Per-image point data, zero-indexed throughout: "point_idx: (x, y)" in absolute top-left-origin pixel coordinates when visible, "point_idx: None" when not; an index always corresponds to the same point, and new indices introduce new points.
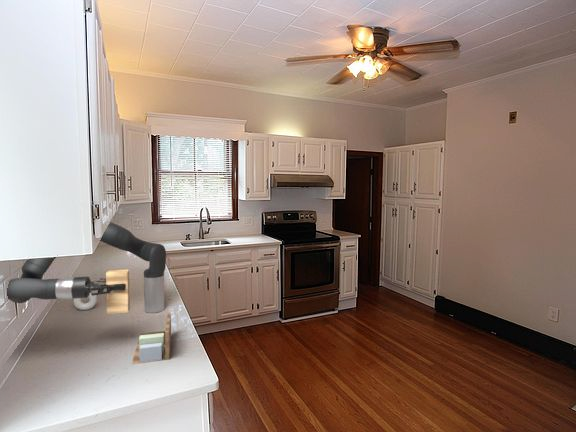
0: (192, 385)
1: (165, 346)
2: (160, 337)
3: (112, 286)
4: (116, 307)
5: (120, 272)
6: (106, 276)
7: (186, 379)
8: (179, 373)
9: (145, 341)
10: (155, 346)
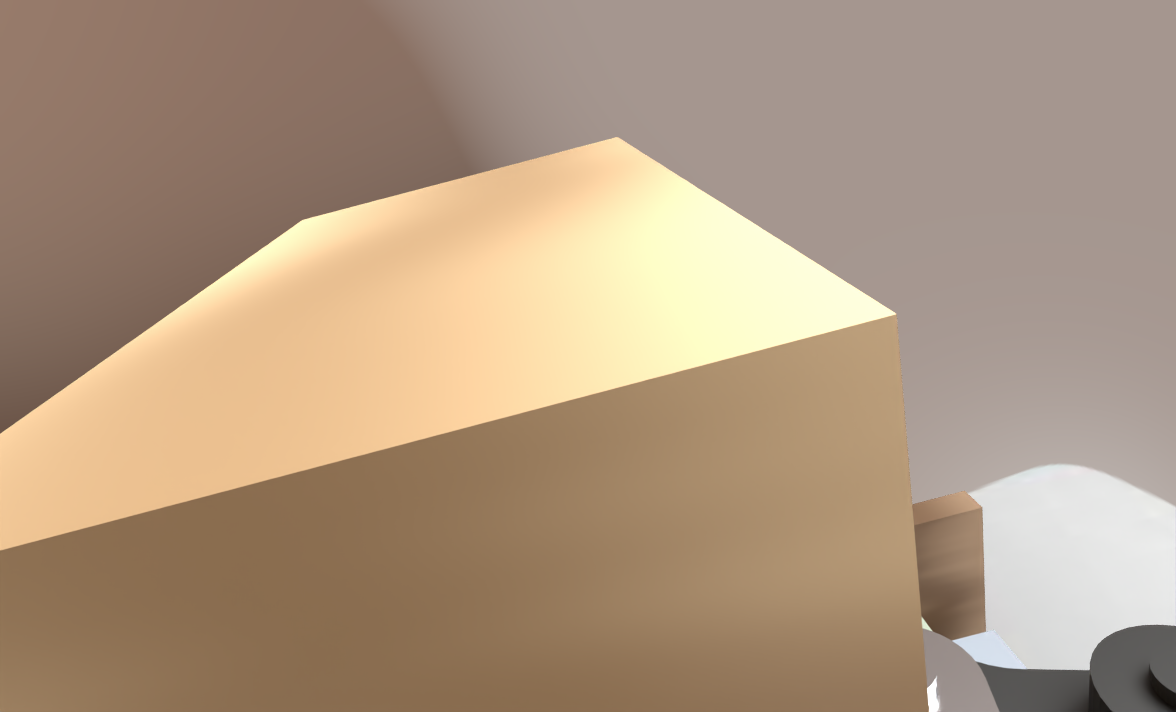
0: (1168, 512)
1: (983, 607)
2: (923, 625)
3: (976, 667)
4: None
5: (627, 165)
6: (909, 559)
7: (1126, 548)
8: (1080, 595)
9: None
10: (1022, 667)
